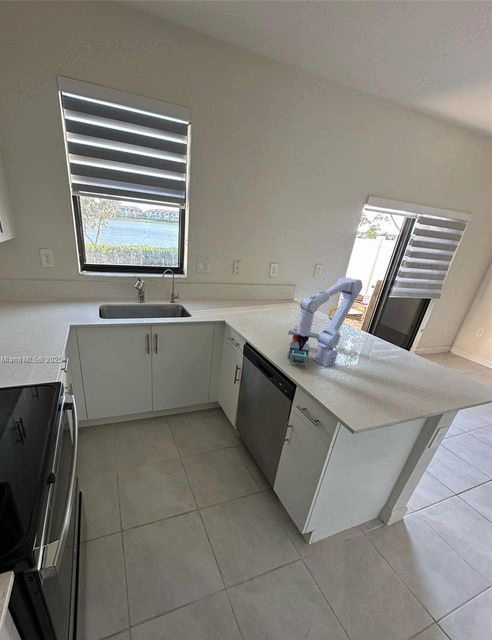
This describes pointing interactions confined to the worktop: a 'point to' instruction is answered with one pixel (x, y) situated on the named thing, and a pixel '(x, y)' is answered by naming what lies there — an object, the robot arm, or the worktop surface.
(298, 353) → the detergent tray
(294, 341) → the canned food
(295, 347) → the dispenser
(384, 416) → the worktop surface
